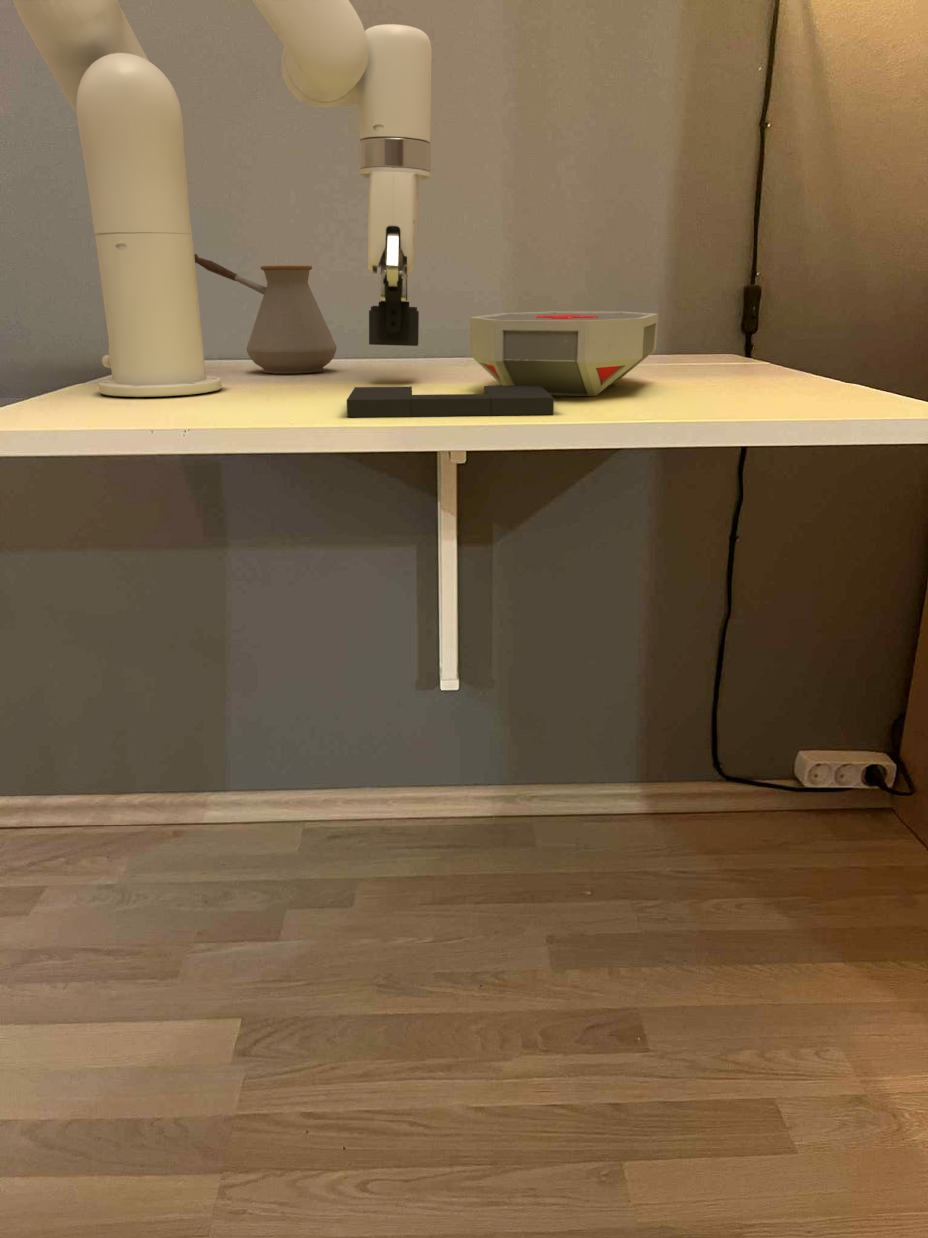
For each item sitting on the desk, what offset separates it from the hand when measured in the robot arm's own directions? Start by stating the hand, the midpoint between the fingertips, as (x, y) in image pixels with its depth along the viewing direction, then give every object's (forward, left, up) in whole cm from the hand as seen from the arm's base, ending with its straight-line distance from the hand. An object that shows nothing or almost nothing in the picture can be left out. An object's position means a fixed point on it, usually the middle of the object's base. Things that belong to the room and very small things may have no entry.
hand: (394, 337), depth 107 cm
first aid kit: (+19, +7, -5) cm, 21 cm away
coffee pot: (-25, +1, -5) cm, 26 cm away
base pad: (+20, -13, -5) cm, 24 cm away
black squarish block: (0, 0, -1) cm, 1 cm away
